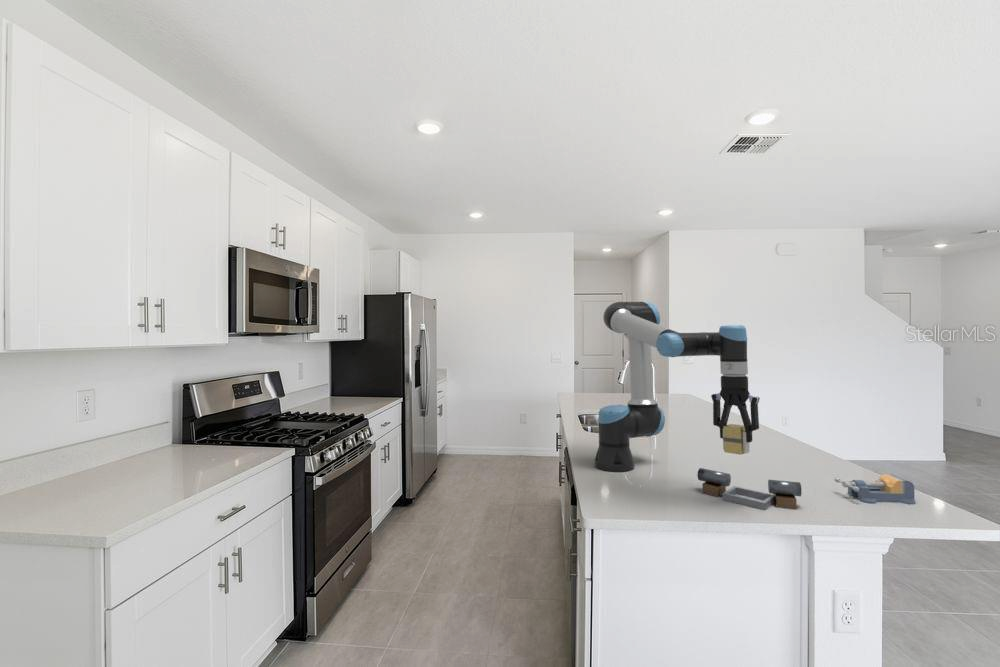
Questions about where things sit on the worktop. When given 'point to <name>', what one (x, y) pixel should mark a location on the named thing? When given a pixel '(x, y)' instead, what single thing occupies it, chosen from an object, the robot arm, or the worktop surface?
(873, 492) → the vise
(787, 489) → the shaft
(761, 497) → the cradle
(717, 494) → the shaft
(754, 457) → the worktop surface
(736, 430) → the gold rectangular block
